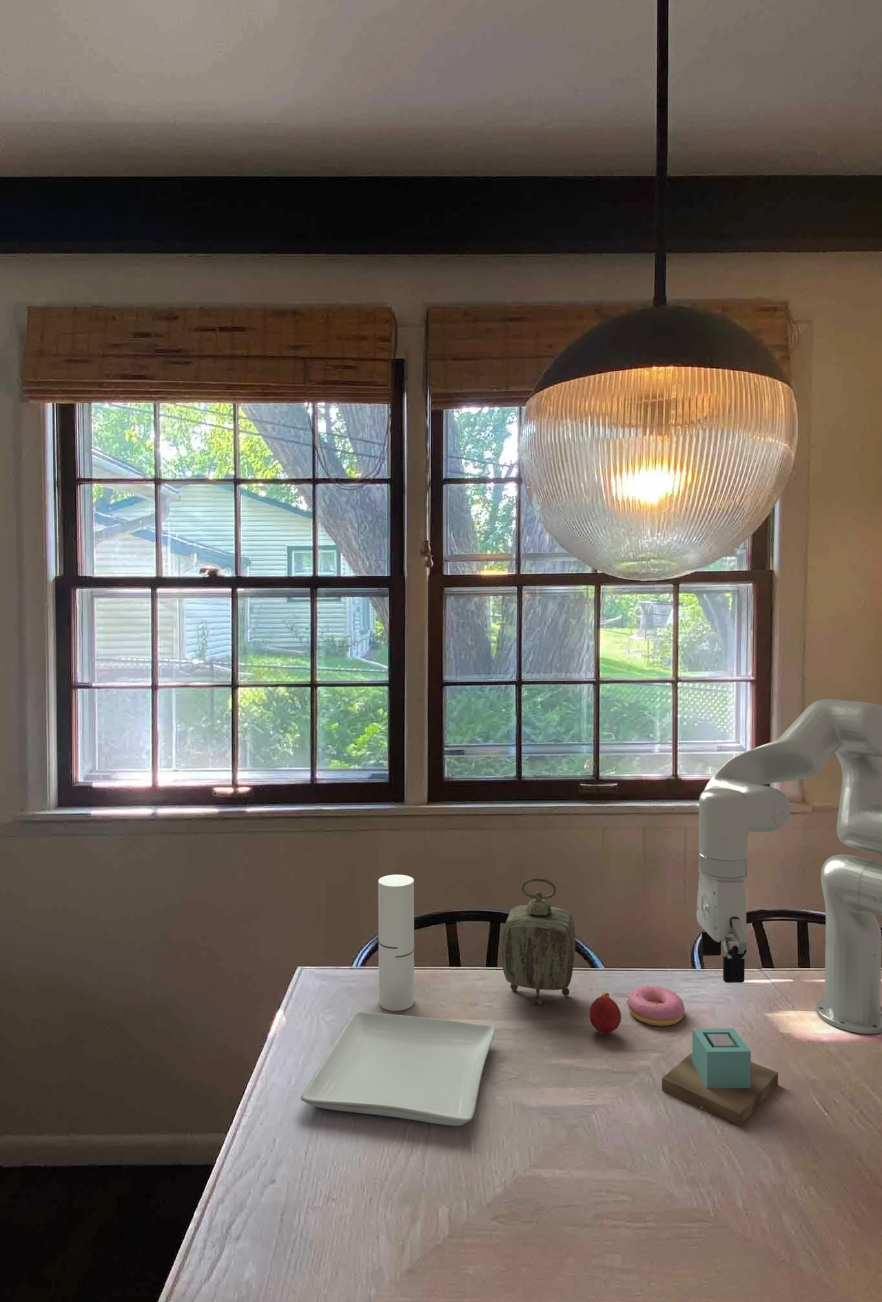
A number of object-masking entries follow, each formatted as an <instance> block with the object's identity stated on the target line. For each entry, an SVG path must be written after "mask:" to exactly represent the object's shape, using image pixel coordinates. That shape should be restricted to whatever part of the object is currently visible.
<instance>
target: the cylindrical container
mask: <svg viewBox="0 0 882 1302" xmlns="http://www.w3.org/2000/svg"><path fill="white" fill-rule="evenodd" d="M414 880H415V879H414V878H413V877H412V876H409V875H406V874H405V875H404V874H389V875H385V876H382V877H380V878H379V879H378V1005H379V1006H380V1007H381V1008H382V1009H384V1010H387V1011H393V1012H396V1011H397V1012H398V1011H399V1012H400V1011H404V1010H407V1009H409V1008H411V1007H412V1006H413V1005H414V1002H415V906H414V905H415V904H414V902H415V900H414V899H415V892H414V891H415V881H414Z"/></svg>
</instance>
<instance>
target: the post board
mask: <svg viewBox="0 0 882 1302" xmlns="http://www.w3.org/2000/svg"><path fill="white" fill-rule="evenodd" d="M707 1041H708V1042H709V1044H710V1045H711V1047H712V1048H714V1047H735V1045H734V1043H733V1042H732V1040H731V1039H730V1038H729V1036H728V1035H727V1034H707ZM778 1085H779V1072H777V1071H775V1070H772V1069H770V1068H767V1067H765V1066H763V1065H760V1064H758V1063H755V1062H753V1061H751V1073H750V1088H707V1087H706V1086H705V1084H704V1082H703V1081H702V1079H701V1077H700V1076H699V1074H698V1072H697V1070H696V1069H695V1067H694V1065H693V1064H692V1052H690V1053H689V1054H688V1055H687V1056H686V1057H685V1058H684V1059H683V1060H681V1061H680V1062H679V1063H678V1064H676V1065H675V1067H673V1068H672V1069H671V1070H670V1071H668V1073H666V1074H665V1075H664V1076H663V1077H662V1078H661V1091H662V1092H665V1093H667V1094H669V1095H672V1096H673V1097H675V1096H676V1097H675V1098H678V1099H680V1100H682V1101H684V1100H685V1102H686V1101H687V1102H686V1103H688V1102H690V1103H692V1104H691V1105H693V1104H694V1105H693V1106H695V1105H696V1106H695V1107H697V1106H698V1107H697V1108H699V1107H702V1108H703V1109H705V1110H706V1112H707V1111H708V1112H707V1113H710V1114H712V1115H715V1116H717V1117H718V1118H721V1119H723V1120H725V1121H727V1122H729V1123H731V1124H733V1125H736V1126H738V1127H741V1126H742V1125H743V1124H744V1123H745V1122H746V1121H747V1119H749V1117H750V1116H751V1115H752V1114H753V1113H754V1112H755V1111H756V1110H757V1108H758V1107H760V1105H761V1104H762V1102H764V1101H765V1100H766V1099H767V1097H768V1096H769V1095H770V1094H772V1092H773V1090H775V1089H776V1087H778ZM690 1103H689V1104H690ZM703 1109H702V1110H703ZM705 1110H704V1111H705Z"/></svg>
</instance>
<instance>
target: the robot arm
mask: <svg viewBox="0 0 882 1302" xmlns="http://www.w3.org/2000/svg"><path fill="white" fill-rule="evenodd" d="M834 754H835V755H836V757H837V760H838V763H839V764H840V768H841V774H842V780H841V790H840V795H839V796H840V798H839V802H838V803H839V804H838V805H839V806H838V813H837V820H836V835H837V838H838V840H839V841H840V842H841V843H842V844H844V845H845V846H847V847H850V848H852V849H855V850H859V851H864V852H867V853H871V854H875V855H879V856H882V705H881V704H878V703H873V702H865V701H858V700H857V701H855V700H844V699H843V700H842V699H831V698H828V699H819V700H816V701H814V702H812V703H811V704H809V705H808V706H807V707H806V708H805V710H803V711H802V712H801V714H800V715H799V716H798V717H797V718H796V719H795V720H794V721H793V722H792V724H790V726H789V727H787V729H786V730H785V731H783V733H782V734H781V735H780V736H779V737H778V738H777V739H776V740H774V741H771V742H768V743H765V744H762V745H760V746H756V747H754V748H752V749H749V750H747V751H744V752H742V753H739V754H737V755H735V756H733V757H732V758H730V759H729V760H728V761H726V762H725V763H724V764H723V765H722V766H720V768H719V769H717V771H716V772H715V773H714V774H713V775H712V776H711V777H710V779H709V780H708V782H707V783H706V785H705V788H703V789H704V790H703V791H702V792H701V793H700V795H699V801H698V873H699V875H698V886H697V898H696V899H697V901H696V920H697V923H698V924H699V925H700V929H701V946H700V947H701V954H702V956H704V957H707V956H708V957H709V956H710V957H711V956H713V957H714V956H716V957H717V956H721V955H722V946H723V950H724V954H725V956H722V957H723V958H722V981H724V983H727V984H732V983H733V984H734V983H735V984H742V983H744V982H745V967H746V966H745V961H746V958H747V957H746V955H747V946H748V941H749V940H748V938H747V905H746V904H747V903H746V890H745V880H746V879H747V878H748V863H749V862H748V856H749V855H748V854H749V853H748V852H749V851H748V842H749V841H748V840H749V838H748V837H749V834H751V833H770V832H771V833H772V832H775V831H778V830H779V829H781V828H782V827H784V826H785V825H786V824H787V822H788V820H790V816H791V812H792V810H791V809H792V808H791V803H790V799H789V798H788V797H787V795H786V794H785V793H784V792H782V791H781V790H779V789H777V788H775V787H772V786H769V784H776V783H785V782H794V781H798V780H799V781H800V780H804V779H805V780H806V779H808V778H811V777H813V776H815V775H816V774H817V773H818V772H819V771H820V770H821V769H822V768H823V767H824V765H826V764H827V762H828V761H829V760H830V759H831V757H832V756H833V755H834ZM767 784H768V786H767ZM820 881H821V882H820V884H821V889H822V894H823V900H824V907H825V909H824V910H825V953H824V954H825V957H824V958H825V959H824V960H825V962H824V965H825V966H824V997H822V998H820V999H818V1000H817V1001H816V1003H815V1012H816V1014H817V1016H818V1017H819V1018H820V1019H821V1020H823V1021H824V1022H826V1023H827V1024H829V1025H831V1026H834V1027H835V1028H837V1029H841V1030H843V1031H847V1032H851V1033H857V1034H862V1035H863V1034H864V1035H875V1034H876V1035H878V1034H880V1033H882V1009H881V985H882V983H881V979H882V977H881V975H882V930H881V927H880V923H879V921H878V919H877V917H876V915H877V916H881V917H882V862H879V861H876V860H874V859H870V858H865V857H860V856H857V855H852V854H846V853H843V854H842V853H840V854H835V855H831V856H830V857H829V858H827V859H826V860H825V861H824V862H823V864H822V866H821V870H820ZM728 936H729V937H728ZM731 936H732V937H731ZM730 944H735V945H732V947H730Z"/></svg>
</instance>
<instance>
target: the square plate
mask: <svg viewBox="0 0 882 1302" xmlns="http://www.w3.org/2000/svg"><path fill="white" fill-rule="evenodd" d="M495 1031H496V1029H495V1027H494V1026H492V1025H489V1024H488V1025H487V1024H479V1023H472V1022H471V1023H470V1022H465V1021H459V1020H458V1021H457V1020H449V1019H442V1018H433V1017H424V1016H423V1017H422V1016H414V1015H403V1014H394V1013H381V1012H379V1013H378V1012H364V1011H355V1012H353V1013H352V1014H351V1016H350V1017H349V1019H348V1021H346V1023H345V1024H344V1027H343V1028H342V1030H341V1032H340V1034H339V1035H338V1037H336V1040H335V1041H334V1043H333V1045H332V1046H331V1048H330V1049H329V1051H328V1053H327V1054H326V1056H325V1057H324V1059H323V1061H322V1062H321V1063H320V1065H319V1067H318V1068H317V1069H316V1071H315V1073H314V1075H313V1076H312V1077H311V1079H310V1080H309V1082H308V1083H307V1086H306V1087H305V1088H304V1091H303V1093H302V1094H301V1096H300V1100H301V1101H302V1102H305V1103H306V1104H307V1105H310V1106H313V1107H317V1108H319V1109H324V1110H332V1111H338V1112H346V1113H348V1112H349V1113H356V1114H357V1113H358V1114H366V1115H374V1116H383V1117H384V1116H385V1117H390V1118H391V1117H392V1118H399V1119H405V1120H411V1121H412V1120H413V1121H417V1122H418V1121H419V1122H422V1123H423V1122H425V1123H431V1124H437V1125H442V1126H443V1125H445V1126H452V1127H454V1126H459V1127H460V1126H463V1125H465V1124H466V1123H468V1122H469V1121H471V1120H472V1119H473V1118H474V1115H475V1114H474V1113H475V1111H476V1107H477V1105H476V1104H477V1099H478V1096H479V1090H480V1089H479V1088H480V1085H481V1079H482V1074H483V1071H484V1067H485V1063H486V1059H487V1057H488V1053H489V1051H490V1048H491V1044H492V1042H493V1039H494V1036H495Z"/></svg>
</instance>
